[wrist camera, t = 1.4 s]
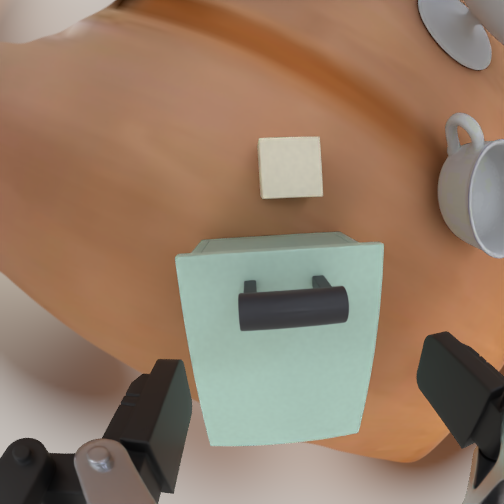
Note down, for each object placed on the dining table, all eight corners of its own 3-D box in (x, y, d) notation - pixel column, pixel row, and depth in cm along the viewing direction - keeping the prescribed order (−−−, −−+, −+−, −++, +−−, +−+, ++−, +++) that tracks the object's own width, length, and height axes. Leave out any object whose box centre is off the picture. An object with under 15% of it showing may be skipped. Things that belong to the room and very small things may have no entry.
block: (257, 145, 25) (258, 138, 20) (308, 144, 25) (319, 136, 20) (260, 196, 26) (262, 199, 21) (311, 194, 26) (323, 196, 21)
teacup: (498, 216, 26) (544, 227, 18) (440, 259, 27) (487, 282, 19) (460, 105, 23) (507, 92, 15) (394, 136, 24) (440, 123, 16)
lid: (177, 253, 18) (149, 282, 12) (379, 241, 18) (423, 262, 12) (211, 439, 21) (204, 487, 16) (356, 427, 21) (373, 471, 16)
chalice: (399, 27, 21) (474, -39, 7) (419, -30, 18) (472, -84, 4) (488, 99, 23) (577, 81, 8) (496, 33, 20) (562, 5, 5)
